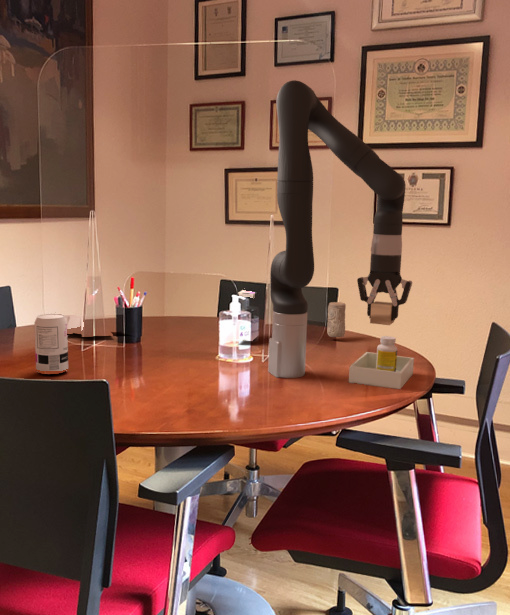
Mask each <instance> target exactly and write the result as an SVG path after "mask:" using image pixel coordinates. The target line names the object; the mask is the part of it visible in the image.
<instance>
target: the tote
mask: <svg viewBox="0 0 510 615" xmlns="http://www.w3.org/2000/svg"><path fill="white" fill-rule="evenodd" d="M376 359H377V352H371V351H370V352H369V351H366V352H364V353H363V354H362V355H361V356H360V357H359V358H358V359H356V360H354V362H352V363H351V365H349V370H348V373H349V374H348V383H349V384H354V383H357V385H362V384H364V385H363V386H373V387H378V388H386V389H395V390H401V389H402V388H403V386H404V385H405V384H406V383H408V381H409V379H410V378H411V377H412V376H413V374H414V364H415V363H414V362H415V357H408V356H401V355H397V363H396V372H393V371H386V370H379V369H376Z"/></svg>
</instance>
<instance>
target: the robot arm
mask: <svg viewBox="0 0 510 615" xmlns="http://www.w3.org/2000/svg"><path fill="white" fill-rule="evenodd" d="M276 112H277V113H276V114H277V126H278V156H277V157H278V158H277V179H276V180H277V181H276V188H277V189H276V193H277V194H276V198H277V200H276V201H277V205H278V206H277V207H278V210H279V213H280V216H281V220H282V224H283V226H284V229H285V241H286V242H285V250H282V251H280V252H278V253H277V254H276V255H275V256H274V257H273V259H272V261H271V265H270V272H269V273H270V276H269V277H270V281H269V282H270V286H269V287H270V299H271V304H272V330H271V334H272V335H271V337H270V338H269V341H268V367H267V371H268V373H270V375H272V376H274V377H275V378H277V379H278V378H282V379H283V378H284V379H294V378H295V379H296V378H301V377H304V376H305V375H306V354H307V328H308V306H309V304H308V301H307V299H306V298H305V297H304V295H303V291H302V289H303V288H305V287H306V286H308V285H309V284H310V282H312V280H313V276H314V275H315V273H314V272H315V256H314V244H313V200H314V199H313V198H314V169H313V168H314V167H313V163H312V158H311V152H310V147H309V131H310V132H311V133H313V134H314V135H315V136H316V137H318V139H320V140H321V141H322V142H323V144H325V145H326V146H327V147H328V149H329V150H330V151H331V152H332V153H333V155H334V156H336V158H338V160H339V161H340V162H342V163H343V165H345V166H346V167H347V168H348V169H349V170H351V171H352V172H353V174H355V175H356V176H358V177H359V178H360V179H362V181H363V182H364V183H365V184H366V185H367V186H368V187H369V188H370V189H371V190H372V191H373V192H374V193H375V194H376V211H375V213H374V218H373V232H372V233H373V234H372V240H371V246H370V262H369V263H370V264H369V265H370V267H369V273H368V276H360V277H358V278H357V280H356V281H357V287H358V293H359V298H360V301H362V302H365V303H366V304H367V308H366V309H367V313H366V314H367V317H368V318H369V319H370V316H371V304H372V303H374V302H375V300H376V298H377V295H378V293H380V294H381V293H385V294H388V295H389V298H390V300H391V301H390V302H391V303H392V304H393V306H392V314H391V321H394V322H395V320H396V319H398V316H399V310H400V309H399V308H400V306H401V305H404V304H406V303H407V302H408V298H409V295H410V292H411V289H412V286H413V281H412V280H406V279H403V278H402V275H401V268H402V267H401V266H402V253H403V236H402V234H403V222H404V221H403V210H404V203H405V196H406V187H407V186H406V181H405V178H404V177H403V175H401V174H400V173H398V172H397V171H396V170H395V169H394V168H393V167H391V166H390V164H387V162H385V161H384V160H383V159H382V158H380V156H379V155H378V154H377V153H376V151H374V150H373V149H372V147H370V146H369V145H368V144H366V142H364V141H363V139H361V138H360V137H358V135H356V134H355V133H354V132H352V131H351V130H350V129H348V128H347V127H346V126H345V125H344V124H342V123H341V122H340V121H339V120H338V119H337V118H336V117H334V115H333V114H332V113H331V112H330V111H329V110H328V109H327V108H326V107H325V105H324V104H323V103H322V102H321V100H320V99H319V97H318V96H317V94H316V93H315V91H314V89H313V88H311V87H310V86H308V85H307V84H306V83H305V82H302V81H300V80H296V79H294V80H293V79H291V80H289V81H287V82H285V83H284V84H283V85H282V86H280V89H279V91H278V92H277V96H276ZM368 282H369V284H370V286H371V291H370V293H369V296H368V293H367V287H366V285H367V284H368ZM400 284H401V288H402V289H403V291H402V294H401V297H400V299H399V297H398V292H397V288H398V286H399V285H400Z"/></svg>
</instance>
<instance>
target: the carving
mask: <svg viewBox="0 0 510 615" xmlns="http://www.w3.org/2000/svg"><path fill="white" fill-rule="evenodd" d="M346 306H347V305H346V303H345V302H342V301H341V302H340V301H339V302H337V301H332V302H329V303H328V306H327V327H326V330H327V331H326V332H327V335H328V337H332V338H342V337H345V334H346Z"/></svg>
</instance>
